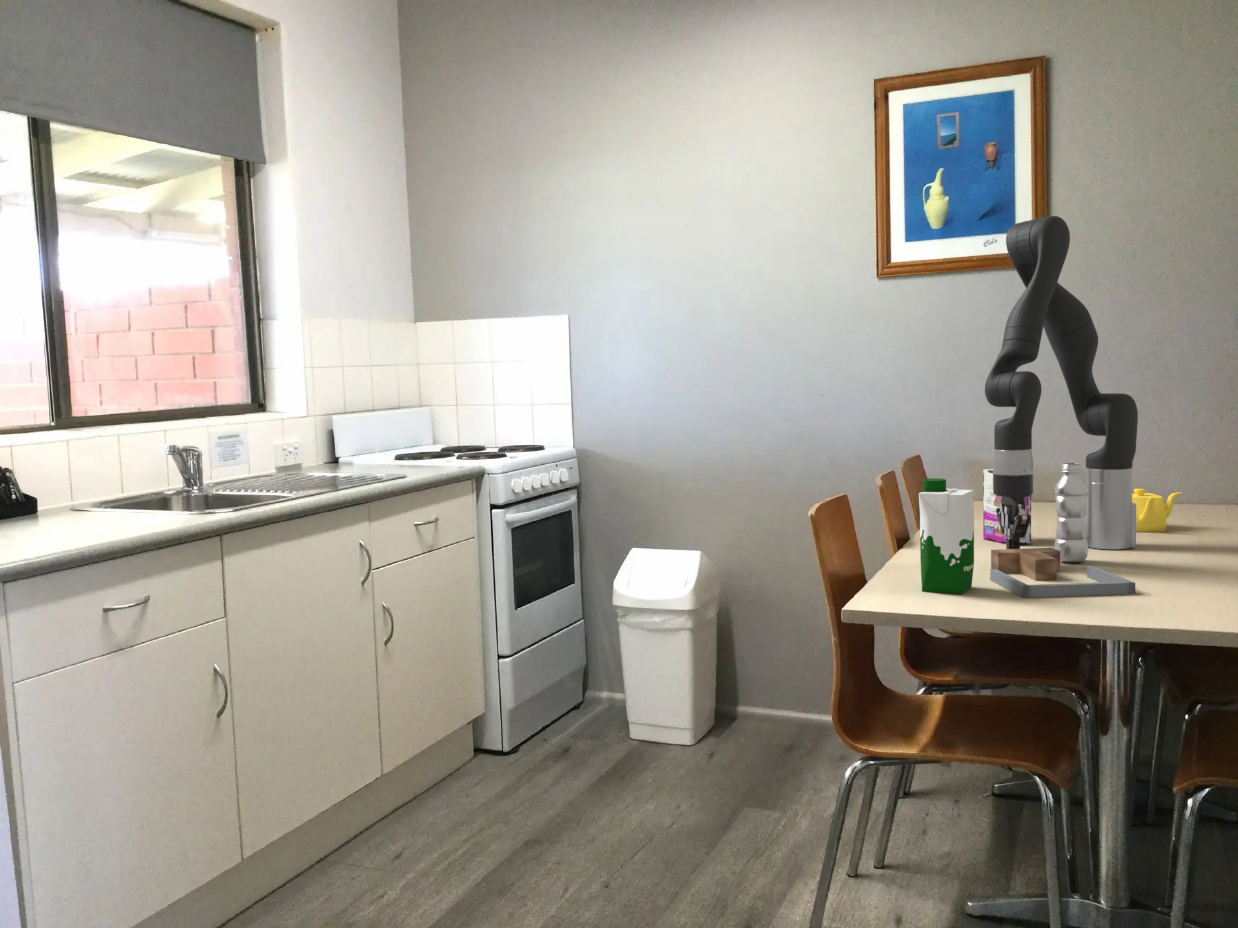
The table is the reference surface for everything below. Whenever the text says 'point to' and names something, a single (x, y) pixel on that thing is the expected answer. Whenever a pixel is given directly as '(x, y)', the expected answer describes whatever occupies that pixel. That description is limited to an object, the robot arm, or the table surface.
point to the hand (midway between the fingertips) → (1013, 557)
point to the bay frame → (1068, 585)
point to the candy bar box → (990, 516)
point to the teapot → (1151, 510)
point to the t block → (1028, 562)
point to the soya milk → (946, 537)
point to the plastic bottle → (1071, 514)
